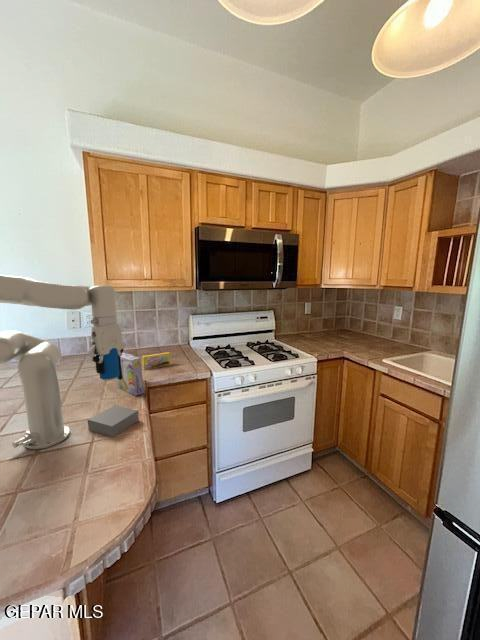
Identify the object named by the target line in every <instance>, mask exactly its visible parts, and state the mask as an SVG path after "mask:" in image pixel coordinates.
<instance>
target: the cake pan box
mask: <svg viewBox="0 0 480 640" xmlns="http://www.w3.org/2000/svg"><path fill="white" fill-rule="evenodd" d="M120 360H121V367H120V368H119V373H120V375H119V376H118V377H117V378H116V379H115V380H116V386H117V388H118V389H121V390H123V391H125V392H127V393H129V394H131V395H133V396H135V397H136V396H140V395H142V394H145V388H144V380H143V379H144V378H143V372H142V370H143V368H142V362H141V357H137V356H135V355H133V354H130V353H125V352H122V356H121V357H120Z"/></svg>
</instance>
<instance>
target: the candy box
mask: <svg viewBox="0 0 480 640" xmlns="http://www.w3.org/2000/svg"><path fill="white" fill-rule="evenodd" d="M170 354H171V353H170V351H169V352H161V353H155V354H149V355H142V370H143V371H144V370H152V369H157V368H160V367H161V368H163V367H167V366H170V365H171V355H170Z"/></svg>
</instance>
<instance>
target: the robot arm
mask: <svg viewBox="0 0 480 640" xmlns="http://www.w3.org/2000/svg"><path fill="white" fill-rule="evenodd" d="M0 303H2V304H3V303H4V304H11V305H12V304H14V305H23V306H29V307H39V308H40V307H41V308H48V309H59V310H74V311H75V310H80V309H83V308H84V307H87V306H88V307H89V306H91V315H92V319H91V320H90V323H91V324H92V326H91V331H90V349H89V350H88V351H87V353H86V355H85V356H86V357H87V358H88V359H90V360H91V361H92V362H93V363H95V371H96V374H99V375H100V374H104V373H105V370H104V363H103V362H102V360H103V357H104V355H107V354H109V351H110V350H111V349H112V348H117V351H118V360H119V368H120V367H121V360H120V357H121V356H122V353H124V349H125V348H126V346H127V344H126V343H125V342H124V339H123V333H122V329H121V326H120V322H119V323H118V319H117V318H118V316H117V307H116V306H117V304H116V291H115V287H113V286H112V285H93V286H92V285H90V286H89V285H79V284H78V285H77V284H76V285H75V284H74V285H68V284H60V283H50V282H45V281H39V280H37V279H36V280H35V279H33V278H29V277H23V276H15V275H4V274H0ZM99 355H100V357H99ZM61 358H62V353H61V350H60V348H59V347H58V346H57V345H56V344H54V343H52V342H49V341H47V340H43V339H41V338H38V337H35V336H33V335H30V334H28V333H24V332H21V331H18V330H10V329H9V330H2V331H0V366H2V365H6V364H9V363H11V362H13V361H18V364H17V373H18V377H19V379H20V383H21V386H22V391H23V398H24V404H25V409H26V410H25V411H26V418H27V425H28V430H26V431H25V434H24V436H22V437H21V438H18V439H16V440H15V441H13V442H12V444H11V445H12V447H13V448H14V449H16V448H19V446H22V447H23V448H24V447H25V448H27V449H29V450H39V449H40V450H41V449H46V448H49V447H52V446H55V445H57V444H60V443H61V442H63V441H64V440H66V439H67V438H68V437H69V436H70V433H71V429H70V427H69V426H66V425H65V423H64V416H63V415H64V414H63V406H62V399H61V391H60V383H59V378H58V375H57V365H58V364H59V362H60V360H61Z"/></svg>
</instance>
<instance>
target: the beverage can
mask: <svg viewBox="0 0 480 640" xmlns="http://www.w3.org/2000/svg"><path fill="white" fill-rule="evenodd" d="M99 357H100V355H99ZM102 362H103V363H104V370H105V373H104V374H99V379H100V380H102V381H104V382H105V381H107V382H108V381H113V380H116V378H117V377H118V376H119V375H120V373H119V360H118V351H117V348H112V349H111V350H110V351H109V354H107V355H104V357H103V360H102Z"/></svg>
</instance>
